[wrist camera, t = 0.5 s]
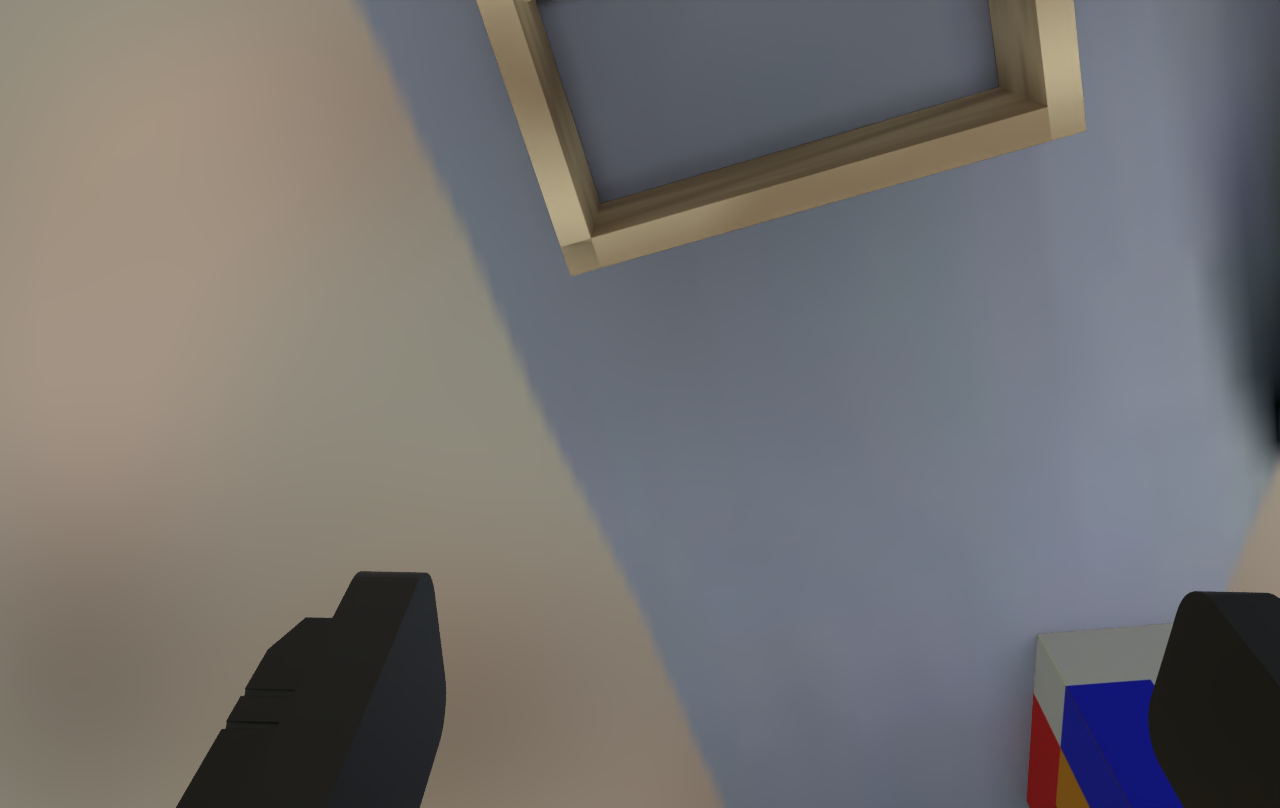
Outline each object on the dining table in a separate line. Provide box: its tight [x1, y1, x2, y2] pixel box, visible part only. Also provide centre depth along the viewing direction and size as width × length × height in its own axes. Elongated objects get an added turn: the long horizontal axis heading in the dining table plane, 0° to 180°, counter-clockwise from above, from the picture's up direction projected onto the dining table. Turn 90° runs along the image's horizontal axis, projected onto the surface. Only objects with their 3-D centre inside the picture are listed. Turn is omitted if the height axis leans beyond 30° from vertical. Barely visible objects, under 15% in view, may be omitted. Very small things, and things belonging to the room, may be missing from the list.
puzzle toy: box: [1027, 623, 1184, 808], centre depth 39 cm, size 10×10×10 cm
